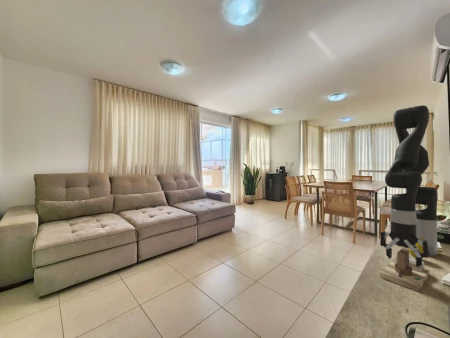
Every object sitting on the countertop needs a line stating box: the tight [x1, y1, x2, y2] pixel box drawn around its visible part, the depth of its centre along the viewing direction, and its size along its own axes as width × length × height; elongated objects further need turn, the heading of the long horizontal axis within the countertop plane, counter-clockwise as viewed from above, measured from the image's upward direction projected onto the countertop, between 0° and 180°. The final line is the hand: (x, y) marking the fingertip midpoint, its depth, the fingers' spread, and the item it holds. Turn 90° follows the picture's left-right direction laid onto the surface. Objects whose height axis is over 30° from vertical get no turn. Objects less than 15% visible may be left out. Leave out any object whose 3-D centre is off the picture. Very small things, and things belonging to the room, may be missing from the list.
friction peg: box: [395, 247, 412, 276], centre depth 75 cm, size 8×5×8 cm, turn 124°
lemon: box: [408, 242, 423, 259], centre depth 89 cm, size 6×6×8 cm
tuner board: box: [379, 256, 431, 292], centre depth 77 cm, size 18×11×4 cm, turn 124°
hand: (403, 261), depth 75 cm, fingers open, 8 cm apart
